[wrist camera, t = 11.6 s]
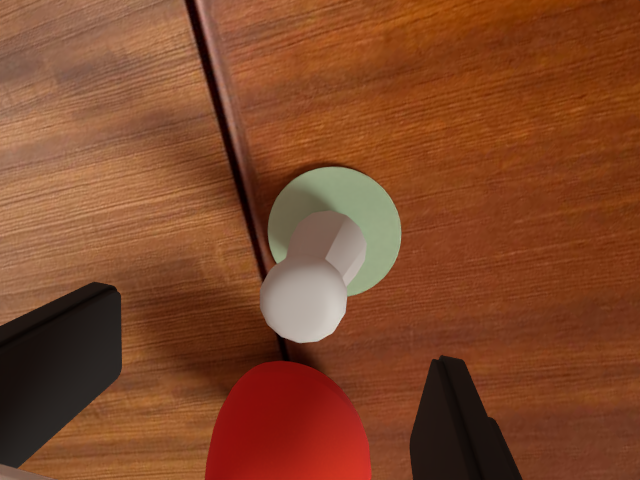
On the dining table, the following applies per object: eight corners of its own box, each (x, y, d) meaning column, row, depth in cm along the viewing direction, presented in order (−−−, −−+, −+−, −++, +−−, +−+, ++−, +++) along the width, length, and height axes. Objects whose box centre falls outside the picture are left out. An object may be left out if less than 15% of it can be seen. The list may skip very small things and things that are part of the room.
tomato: (222, 384, 34) (123, 537, 20) (294, 308, 31) (234, 428, 17) (318, 464, 35) (284, 664, 21) (398, 397, 32) (419, 581, 18)
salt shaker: (340, 191, 27) (314, 222, 15) (380, 250, 28) (388, 327, 15) (283, 232, 29) (214, 291, 16) (322, 286, 29) (286, 383, 17)
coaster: (244, 217, 30) (241, 218, 29) (349, 137, 27) (348, 137, 26) (319, 317, 31) (318, 320, 30) (427, 250, 28) (428, 252, 27)
